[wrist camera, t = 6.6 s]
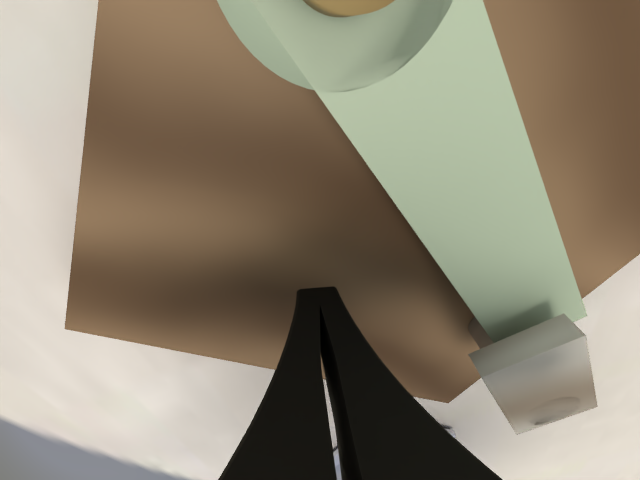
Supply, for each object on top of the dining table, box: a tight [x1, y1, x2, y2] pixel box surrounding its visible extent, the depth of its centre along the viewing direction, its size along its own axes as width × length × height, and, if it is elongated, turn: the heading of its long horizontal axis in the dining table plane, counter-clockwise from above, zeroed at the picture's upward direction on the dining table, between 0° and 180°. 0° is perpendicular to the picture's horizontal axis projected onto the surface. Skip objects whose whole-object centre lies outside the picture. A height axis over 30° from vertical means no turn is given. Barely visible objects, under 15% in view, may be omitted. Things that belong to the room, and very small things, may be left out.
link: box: [217, 0, 587, 343], centre depth 8 cm, size 14×4×2 cm, turn 37°
